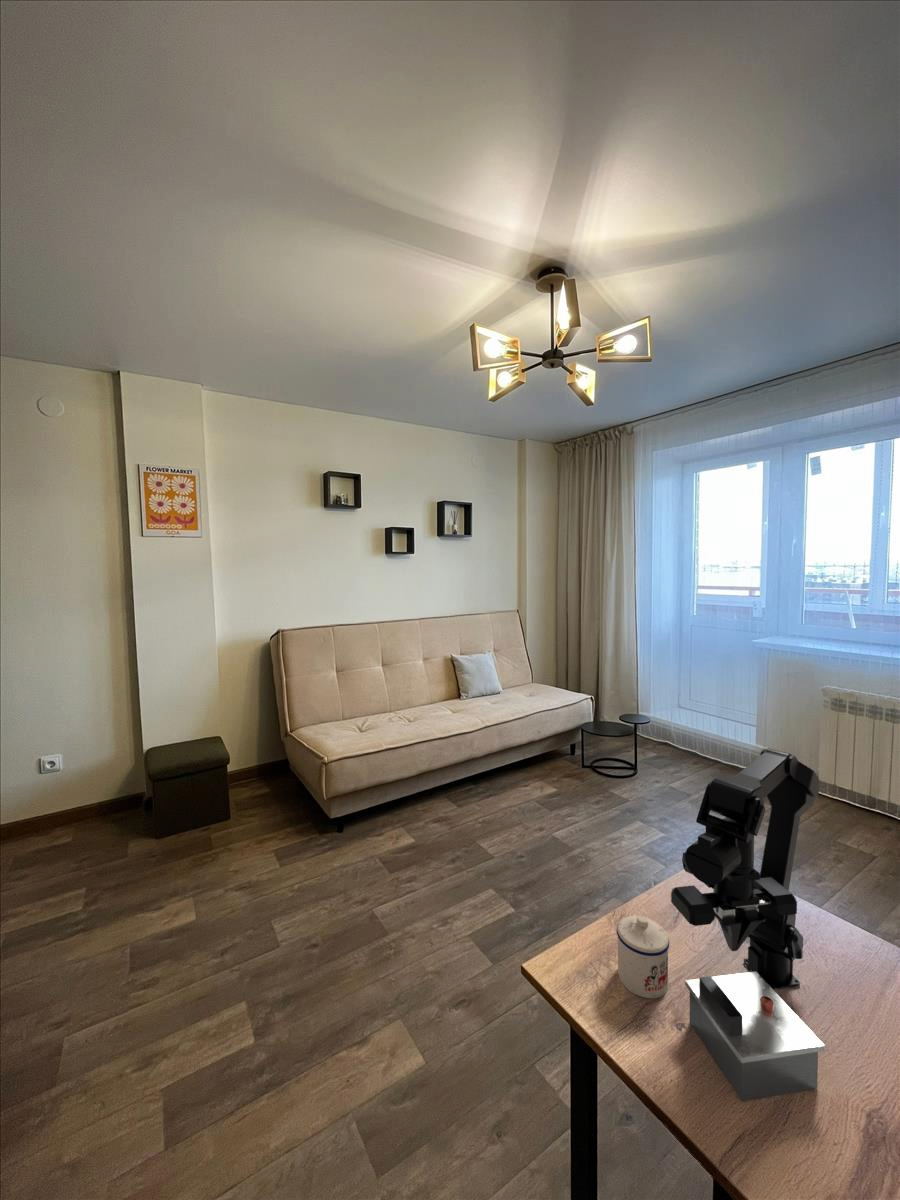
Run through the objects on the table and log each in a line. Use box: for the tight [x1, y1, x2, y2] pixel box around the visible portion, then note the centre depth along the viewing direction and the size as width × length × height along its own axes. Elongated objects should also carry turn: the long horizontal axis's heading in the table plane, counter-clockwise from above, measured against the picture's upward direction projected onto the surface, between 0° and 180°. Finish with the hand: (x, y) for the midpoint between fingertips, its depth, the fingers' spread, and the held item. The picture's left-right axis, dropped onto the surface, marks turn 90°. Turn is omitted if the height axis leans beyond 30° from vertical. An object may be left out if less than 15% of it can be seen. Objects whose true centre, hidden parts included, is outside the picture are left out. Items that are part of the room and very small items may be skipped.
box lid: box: [684, 971, 826, 1063], centre depth 74 cm, size 13×13×4 cm
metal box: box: [689, 991, 819, 1102], centre depth 74 cm, size 12×12×6 cm
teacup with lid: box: [616, 915, 670, 999], centre depth 89 cm, size 12×9×12 cm
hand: (732, 949), depth 79 cm, fingers closed
